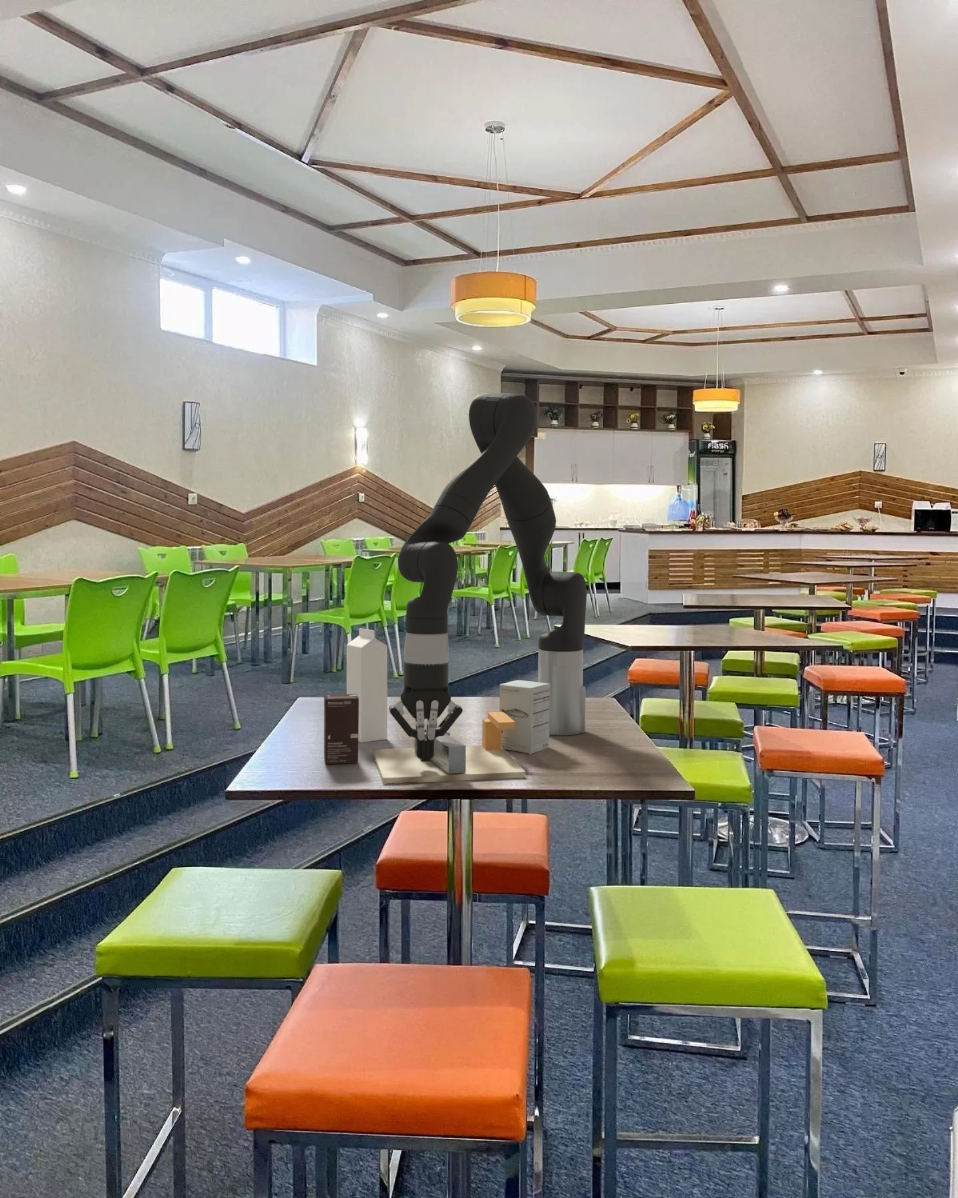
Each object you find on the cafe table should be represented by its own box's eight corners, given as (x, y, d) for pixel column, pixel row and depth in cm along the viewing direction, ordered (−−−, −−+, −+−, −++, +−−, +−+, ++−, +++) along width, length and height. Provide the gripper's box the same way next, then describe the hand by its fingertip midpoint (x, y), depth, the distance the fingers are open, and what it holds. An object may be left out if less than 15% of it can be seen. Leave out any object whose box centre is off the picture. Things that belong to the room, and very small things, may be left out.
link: (414, 753, 173) (414, 729, 173) (440, 751, 175) (440, 727, 174) (443, 774, 158) (443, 747, 158) (471, 772, 160) (471, 745, 159)
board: (499, 749, 182) (499, 744, 181) (525, 777, 161) (525, 771, 161) (372, 754, 177) (372, 749, 177) (383, 784, 156) (383, 778, 156)
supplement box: (497, 749, 182) (497, 683, 181) (518, 742, 188) (518, 679, 187) (530, 754, 178) (531, 687, 177) (550, 747, 184) (551, 682, 183)
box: (325, 765, 169) (325, 698, 168) (323, 760, 173) (323, 694, 172) (359, 764, 170) (359, 697, 169) (357, 758, 174) (356, 693, 173)
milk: (361, 743, 187) (360, 631, 185) (346, 737, 192) (345, 628, 190) (388, 739, 191) (387, 629, 189) (372, 734, 196) (371, 627, 194)
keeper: (503, 751, 181) (503, 711, 180) (514, 763, 171) (515, 722, 170) (482, 751, 180) (482, 712, 179) (493, 764, 170) (493, 722, 170)
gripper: (389, 662, 156) (387, 767, 157) (468, 662, 158) (467, 765, 160) (385, 656, 163) (384, 756, 164) (461, 656, 166) (459, 755, 167)
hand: (425, 760), depth 162 cm, fingers closed
